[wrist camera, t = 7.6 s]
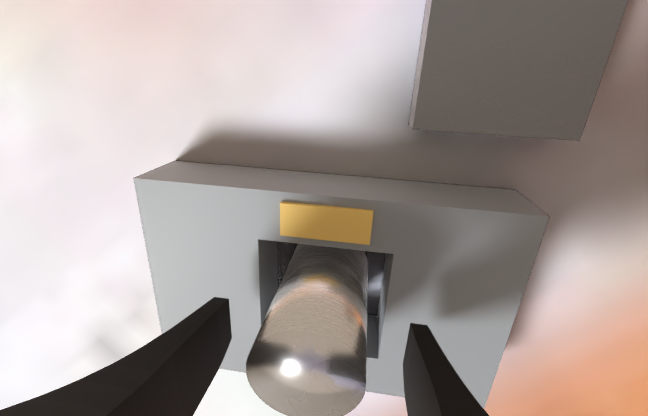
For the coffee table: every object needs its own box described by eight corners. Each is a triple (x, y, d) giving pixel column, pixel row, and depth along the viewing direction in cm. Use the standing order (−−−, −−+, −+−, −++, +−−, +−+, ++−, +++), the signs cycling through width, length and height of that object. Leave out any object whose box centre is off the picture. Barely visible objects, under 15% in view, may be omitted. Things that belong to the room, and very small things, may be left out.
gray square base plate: (615, -46, 11) (650, -64, 10) (557, 134, 13) (579, 140, 12) (433, -48, 12) (441, -65, 10) (408, 123, 14) (412, 129, 12)
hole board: (515, 189, 14) (552, 218, 11) (466, 358, 18) (484, 413, 15) (174, 160, 16) (130, 179, 13) (195, 320, 20) (164, 363, 17)
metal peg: (364, 300, 18) (360, 429, 11) (292, 292, 18) (248, 410, 12) (371, 234, 16) (372, 339, 10) (292, 227, 16) (242, 322, 10)
